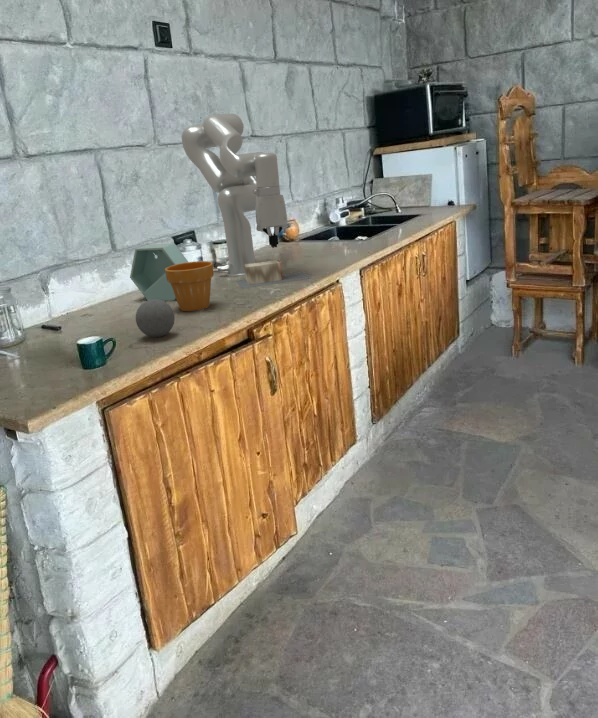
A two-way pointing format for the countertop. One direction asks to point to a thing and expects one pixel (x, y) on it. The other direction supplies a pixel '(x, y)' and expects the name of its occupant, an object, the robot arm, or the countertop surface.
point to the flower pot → (191, 284)
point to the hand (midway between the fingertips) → (274, 246)
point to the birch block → (263, 272)
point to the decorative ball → (155, 318)
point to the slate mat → (286, 278)
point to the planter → (155, 270)
